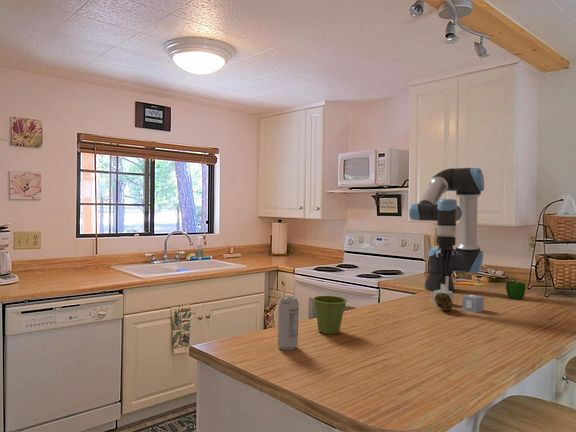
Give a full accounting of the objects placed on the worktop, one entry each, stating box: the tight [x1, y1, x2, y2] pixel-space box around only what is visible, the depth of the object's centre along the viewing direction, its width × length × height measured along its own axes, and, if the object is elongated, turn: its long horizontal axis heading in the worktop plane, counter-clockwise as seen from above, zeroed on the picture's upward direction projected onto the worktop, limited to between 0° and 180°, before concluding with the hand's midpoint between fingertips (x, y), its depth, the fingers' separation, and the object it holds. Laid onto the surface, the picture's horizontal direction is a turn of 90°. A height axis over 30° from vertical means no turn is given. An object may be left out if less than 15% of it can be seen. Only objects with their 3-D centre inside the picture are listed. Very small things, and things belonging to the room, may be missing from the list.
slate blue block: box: [462, 294, 485, 314], centre depth 186 cm, size 6×6×6 cm
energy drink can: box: [277, 295, 300, 351], centre depth 130 cm, size 6×6×15 cm
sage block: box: [432, 290, 454, 305], centre depth 196 cm, size 6×6×6 cm
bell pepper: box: [505, 277, 527, 300], centre depth 214 cm, size 8×8×10 cm
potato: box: [434, 293, 454, 312], centre depth 184 cm, size 8×13×8 cm, turn 138°
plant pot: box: [312, 295, 349, 336], centre depth 148 cm, size 12×12×11 cm
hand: (444, 291), depth 183 cm, fingers closed
